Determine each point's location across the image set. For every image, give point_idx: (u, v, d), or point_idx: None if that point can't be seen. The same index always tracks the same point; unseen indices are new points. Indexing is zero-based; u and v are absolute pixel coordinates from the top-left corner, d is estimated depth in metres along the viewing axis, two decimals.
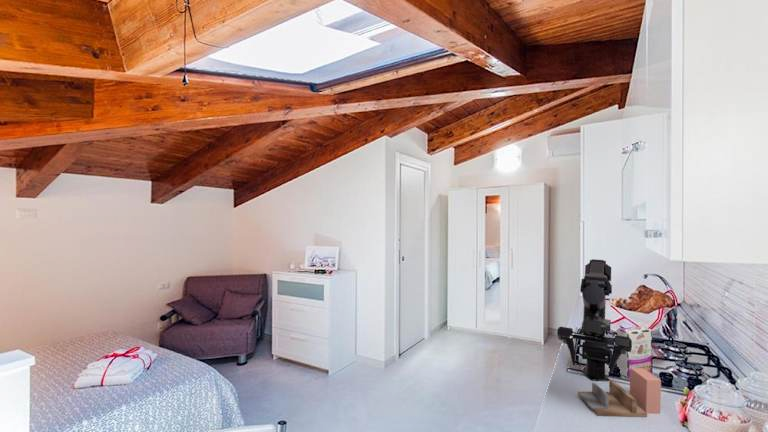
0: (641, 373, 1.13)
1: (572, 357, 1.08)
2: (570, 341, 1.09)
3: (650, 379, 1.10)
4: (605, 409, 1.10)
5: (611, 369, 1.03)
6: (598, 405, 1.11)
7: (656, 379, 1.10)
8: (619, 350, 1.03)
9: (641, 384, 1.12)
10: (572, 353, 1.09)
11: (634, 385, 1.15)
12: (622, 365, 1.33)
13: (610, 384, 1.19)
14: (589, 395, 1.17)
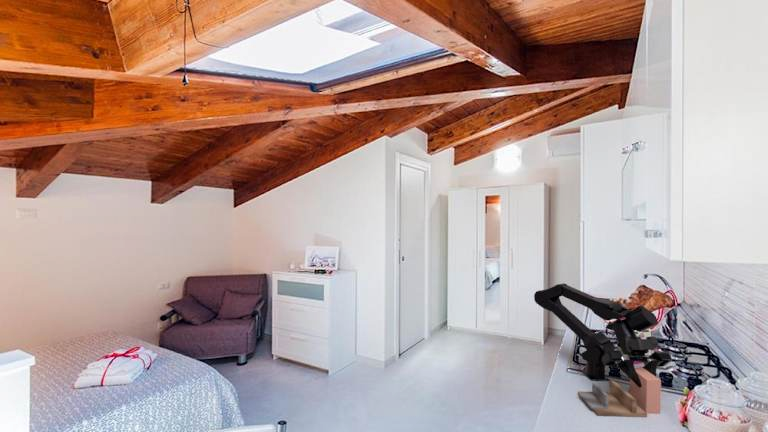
0: (641, 373, 1.13)
1: (637, 379, 1.13)
2: (631, 363, 1.14)
3: (650, 379, 1.10)
4: (605, 409, 1.10)
5: None
6: (598, 405, 1.11)
7: (656, 379, 1.10)
8: (656, 364, 1.14)
9: (641, 383, 1.12)
10: (636, 375, 1.13)
11: (634, 385, 1.15)
12: None
13: (610, 384, 1.19)
14: (589, 395, 1.17)
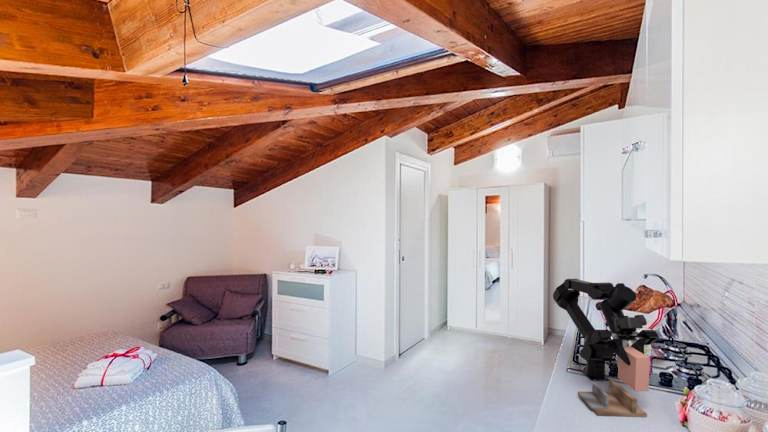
0: (630, 352, 1.13)
1: (626, 357, 1.12)
2: (620, 342, 1.14)
3: (639, 357, 1.10)
4: (605, 409, 1.10)
5: None
6: (598, 405, 1.11)
7: (645, 357, 1.10)
8: (644, 342, 1.14)
9: (630, 362, 1.11)
10: (625, 353, 1.13)
11: (623, 364, 1.15)
12: None
13: (610, 384, 1.19)
14: (589, 395, 1.17)
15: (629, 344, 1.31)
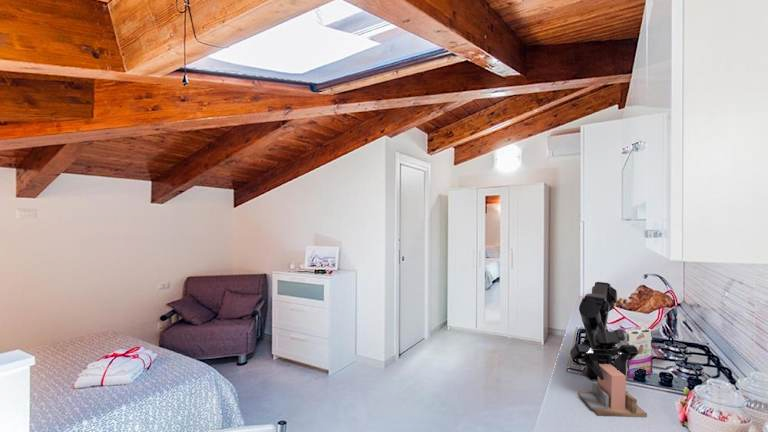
0: (607, 369, 1.14)
1: (600, 372, 1.13)
2: (594, 356, 1.15)
3: (615, 374, 1.10)
4: (605, 409, 1.10)
5: None
6: (598, 405, 1.11)
7: (621, 375, 1.10)
8: (626, 357, 1.14)
9: (607, 379, 1.12)
10: (598, 368, 1.14)
11: (601, 381, 1.15)
12: None
13: None
14: (589, 395, 1.17)
15: (629, 344, 1.31)
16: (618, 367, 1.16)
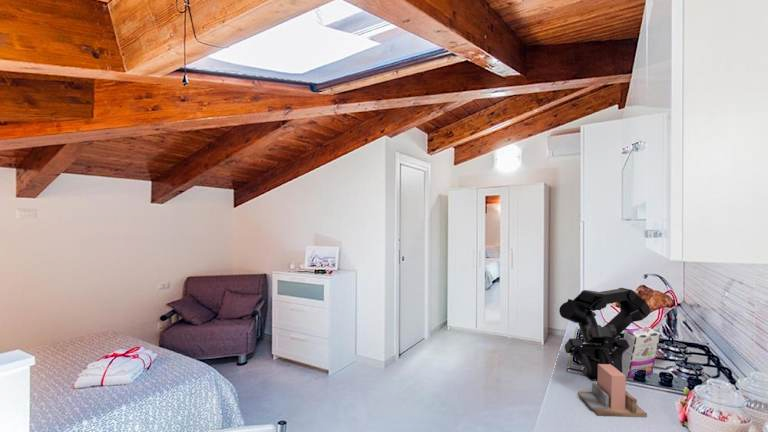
0: (607, 369, 1.14)
1: (588, 364, 1.18)
2: (583, 350, 1.20)
3: (615, 374, 1.10)
4: (605, 409, 1.10)
5: (621, 369, 1.17)
6: (598, 405, 1.11)
7: (621, 375, 1.10)
8: (622, 350, 1.19)
9: (607, 379, 1.12)
10: (587, 361, 1.18)
11: (601, 381, 1.15)
12: (624, 365, 1.32)
13: None
14: (589, 395, 1.17)
15: (635, 347, 1.29)
16: (614, 360, 1.20)
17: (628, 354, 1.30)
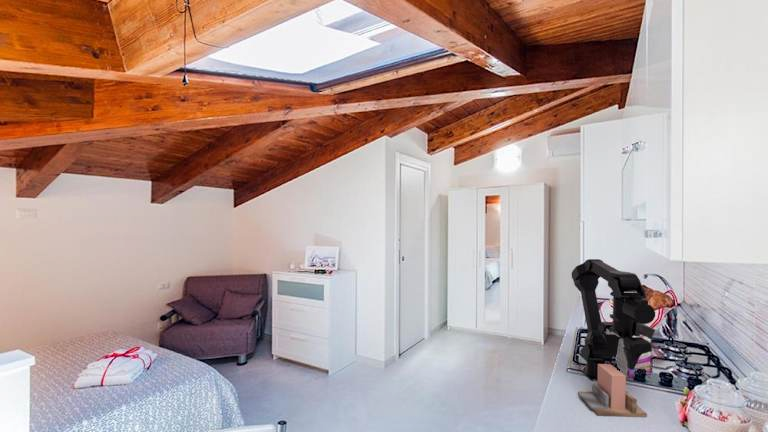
0: (607, 369, 1.14)
1: None
2: None
3: (615, 374, 1.10)
4: (605, 409, 1.10)
5: None
6: (598, 405, 1.11)
7: (621, 375, 1.10)
8: None
9: (607, 379, 1.12)
10: None
11: (601, 381, 1.15)
12: (622, 365, 1.33)
13: None
14: (589, 395, 1.17)
15: None
16: (611, 343, 1.21)
17: None
